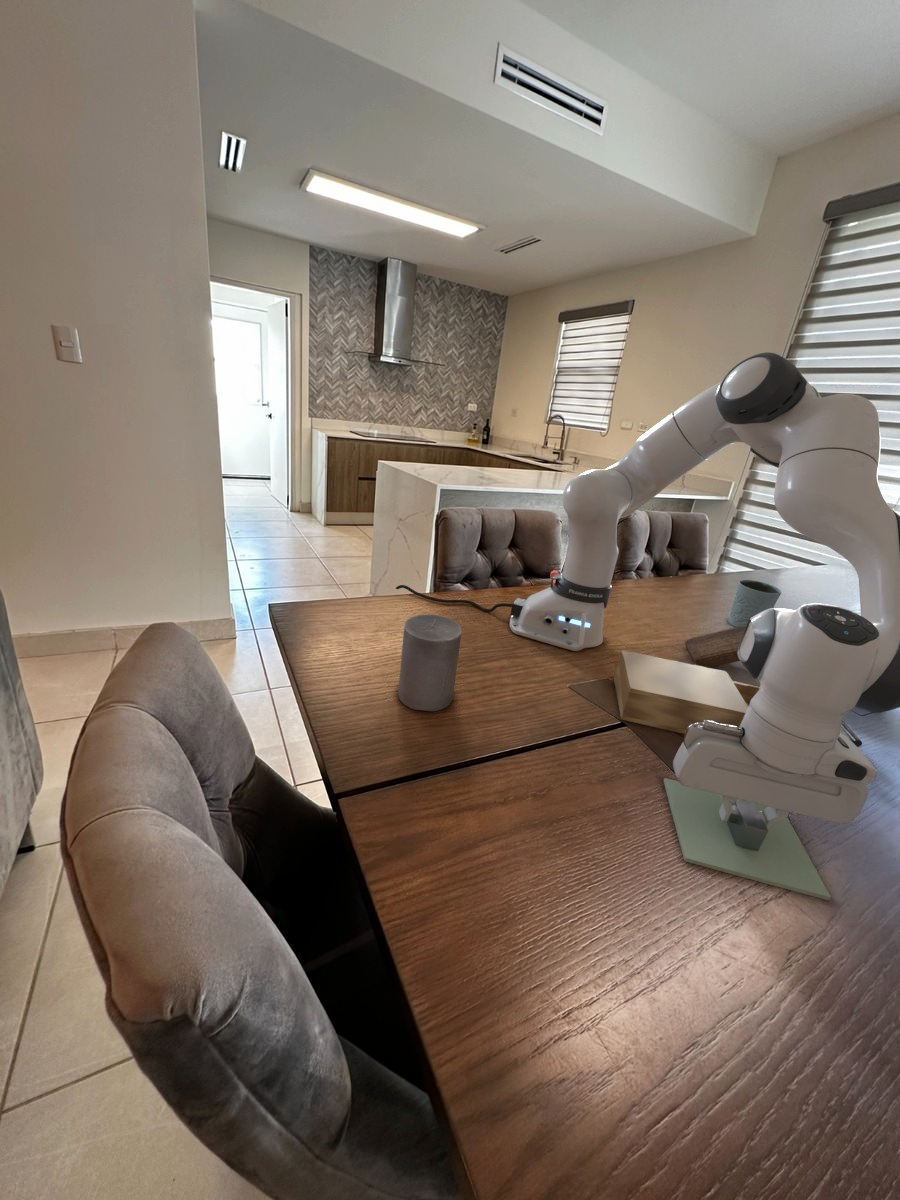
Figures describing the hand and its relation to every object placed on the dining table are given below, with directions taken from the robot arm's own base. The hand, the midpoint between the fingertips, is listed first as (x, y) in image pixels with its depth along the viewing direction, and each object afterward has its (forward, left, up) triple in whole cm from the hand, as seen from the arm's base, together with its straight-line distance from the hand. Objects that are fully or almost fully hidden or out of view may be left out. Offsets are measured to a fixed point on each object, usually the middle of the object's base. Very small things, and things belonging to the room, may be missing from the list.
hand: (742, 822), depth 61 cm
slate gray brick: (0, 0, -1) cm, 1 cm away
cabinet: (-3, +28, -2) cm, 28 cm away
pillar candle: (-47, +14, -2) cm, 49 cm away
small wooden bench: (+20, +53, -2) cm, 57 cm away
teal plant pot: (+27, +82, -2) cm, 86 cm away
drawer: (+15, +28, -1) cm, 32 cm away
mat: (0, 0, -2) cm, 2 cm away
